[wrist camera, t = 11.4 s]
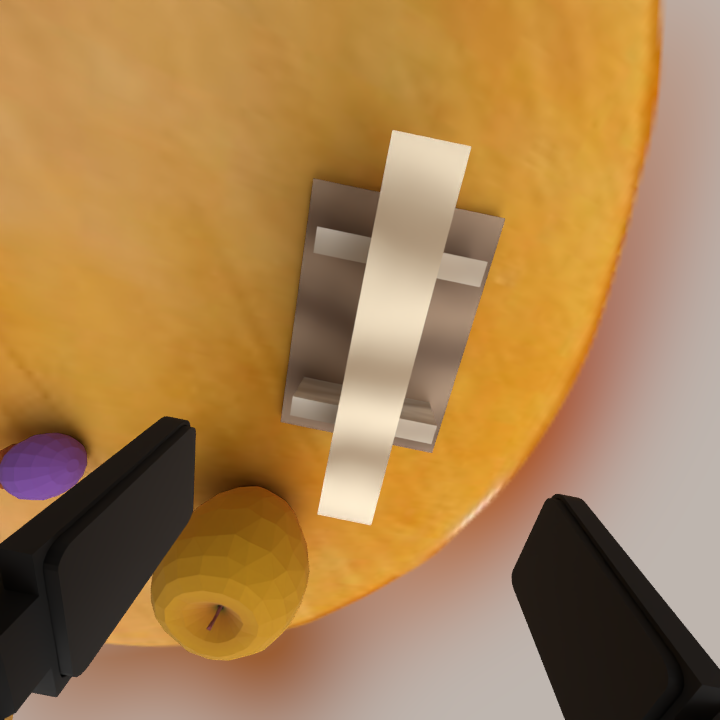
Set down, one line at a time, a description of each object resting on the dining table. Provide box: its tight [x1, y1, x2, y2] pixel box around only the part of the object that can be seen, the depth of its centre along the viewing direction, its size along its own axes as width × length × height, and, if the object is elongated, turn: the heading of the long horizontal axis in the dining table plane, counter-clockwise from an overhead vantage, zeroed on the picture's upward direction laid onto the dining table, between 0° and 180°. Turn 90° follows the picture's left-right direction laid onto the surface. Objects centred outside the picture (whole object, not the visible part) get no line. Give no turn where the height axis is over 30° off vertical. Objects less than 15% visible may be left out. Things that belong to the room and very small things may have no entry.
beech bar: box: [318, 130, 471, 525], centre depth 21 cm, size 22×4×5 cm, turn 169°
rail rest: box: [281, 179, 505, 453], centre depth 26 cm, size 20×14×5 cm
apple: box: [151, 486, 309, 660], centre depth 30 cm, size 13×13×11 cm
